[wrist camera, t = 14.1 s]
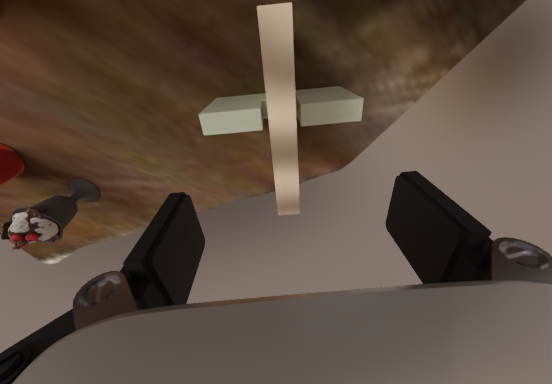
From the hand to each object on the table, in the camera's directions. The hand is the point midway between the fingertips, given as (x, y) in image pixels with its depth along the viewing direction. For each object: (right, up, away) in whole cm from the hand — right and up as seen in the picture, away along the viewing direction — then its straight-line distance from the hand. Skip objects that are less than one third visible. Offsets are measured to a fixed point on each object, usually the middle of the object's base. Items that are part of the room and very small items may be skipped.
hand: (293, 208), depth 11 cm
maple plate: (-1, +14, +23) cm, 27 cm away
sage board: (0, +14, +23) cm, 27 cm away
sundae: (-35, +1, +31) cm, 47 cm away
